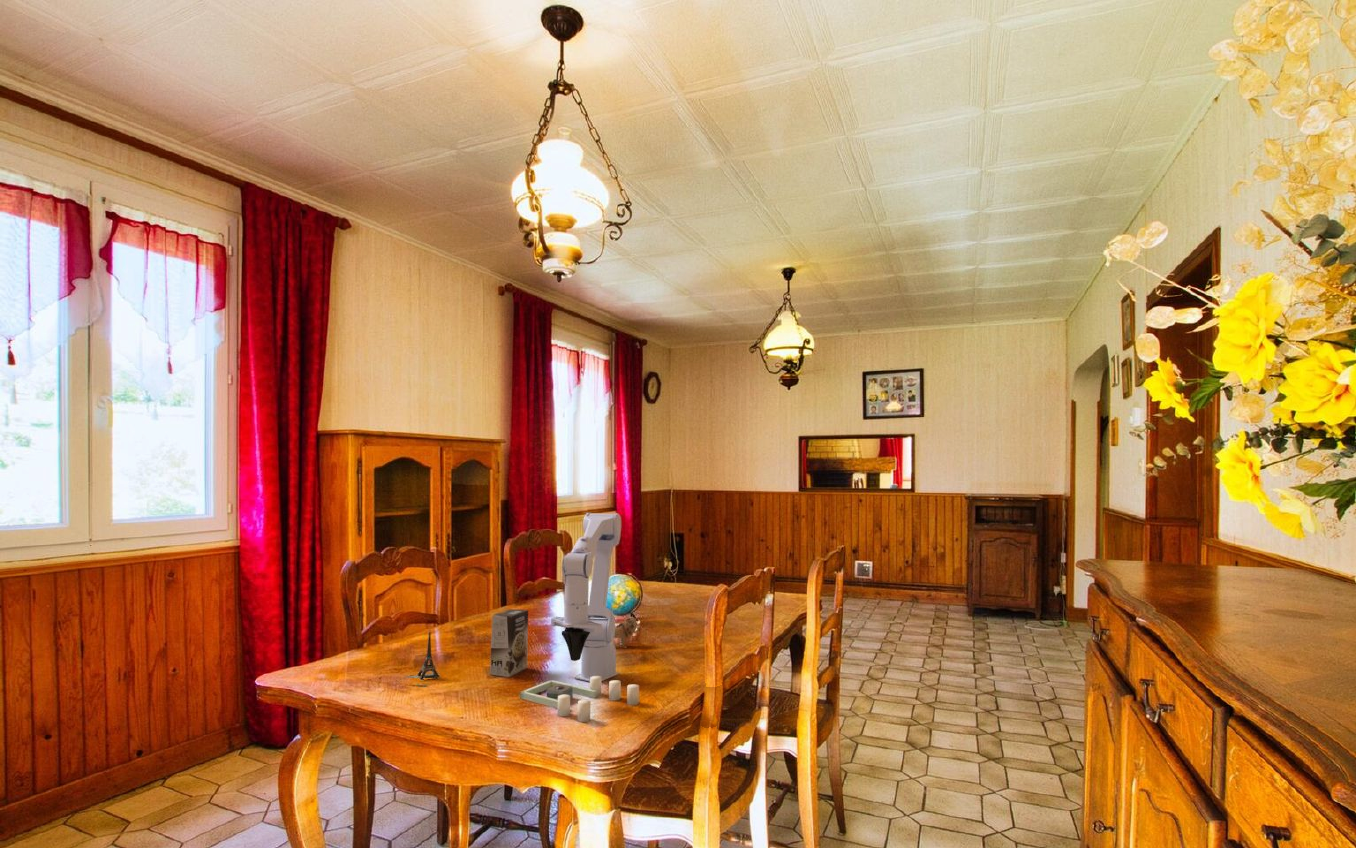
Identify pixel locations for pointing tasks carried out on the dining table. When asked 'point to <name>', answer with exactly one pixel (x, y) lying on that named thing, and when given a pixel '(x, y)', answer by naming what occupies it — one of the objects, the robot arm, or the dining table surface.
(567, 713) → the posts
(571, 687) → the push button box
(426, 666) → the eiffel tower figurine
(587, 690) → the frame
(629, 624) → the lion figurine
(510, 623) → the coffee box
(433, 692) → the dining table surface
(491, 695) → the dining table surface
